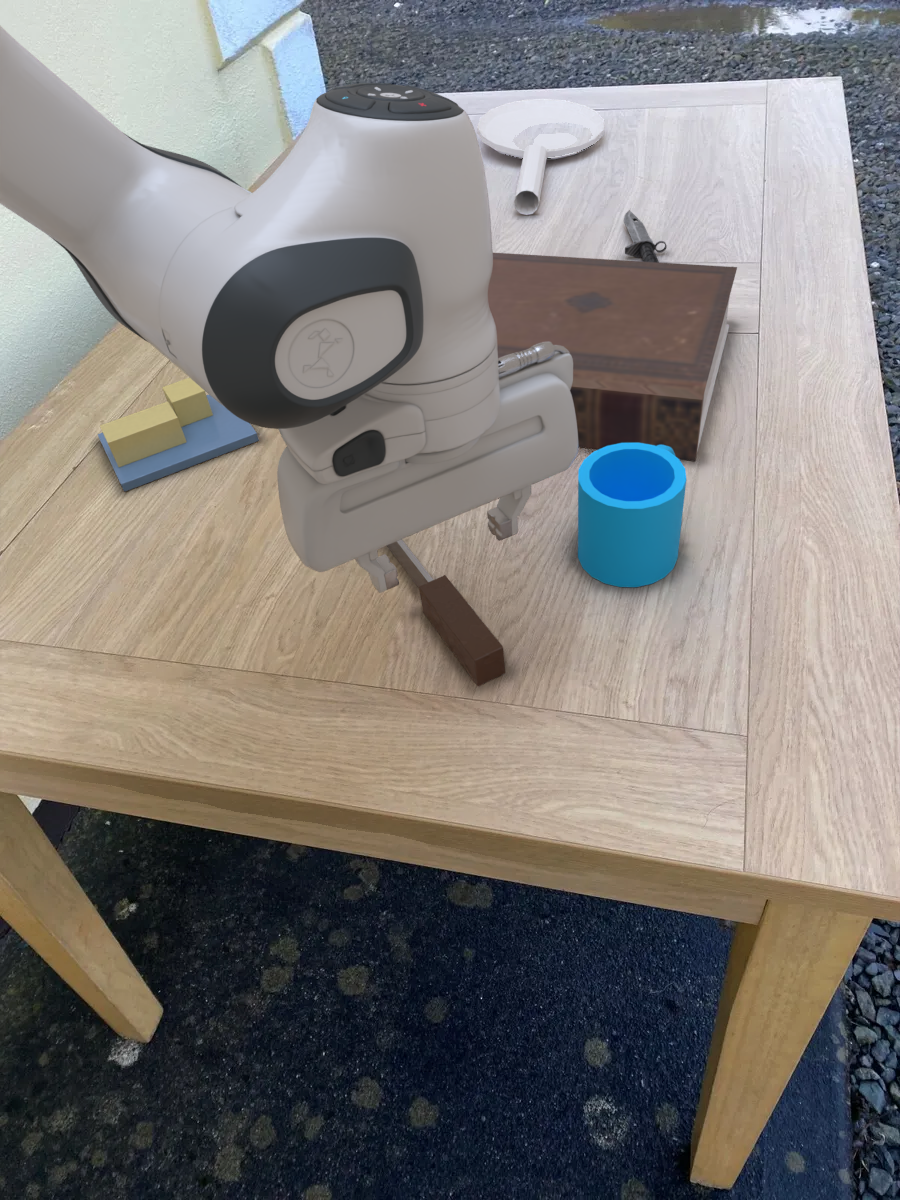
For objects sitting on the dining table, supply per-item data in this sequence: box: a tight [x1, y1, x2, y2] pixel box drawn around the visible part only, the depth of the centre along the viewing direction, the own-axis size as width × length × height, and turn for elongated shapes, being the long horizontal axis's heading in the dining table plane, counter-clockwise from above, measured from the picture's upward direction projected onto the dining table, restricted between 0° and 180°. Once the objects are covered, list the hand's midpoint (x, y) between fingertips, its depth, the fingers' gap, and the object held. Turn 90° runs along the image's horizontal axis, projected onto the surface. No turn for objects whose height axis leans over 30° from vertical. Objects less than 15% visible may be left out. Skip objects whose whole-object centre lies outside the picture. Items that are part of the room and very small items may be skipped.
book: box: [488, 252, 738, 462], centre depth 92 cm, size 24×28×6 cm
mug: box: [577, 443, 687, 588], centre depth 73 cm, size 12×8×8 cm
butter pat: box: [161, 377, 213, 427], centre depth 93 cm, size 4×4×3 cm
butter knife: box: [386, 539, 506, 687], centre depth 73 cm, size 2×20×3 cm, turn 28°
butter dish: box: [97, 393, 260, 492], centre depth 92 cm, size 14×10×4 cm
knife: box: [623, 209, 668, 263], centre depth 111 cm, size 19×2×5 cm
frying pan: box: [476, 98, 605, 216], centre depth 133 cm, size 35×19×5 cm, turn 172°
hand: (445, 558), depth 64 cm, fingers open, 8 cm apart
